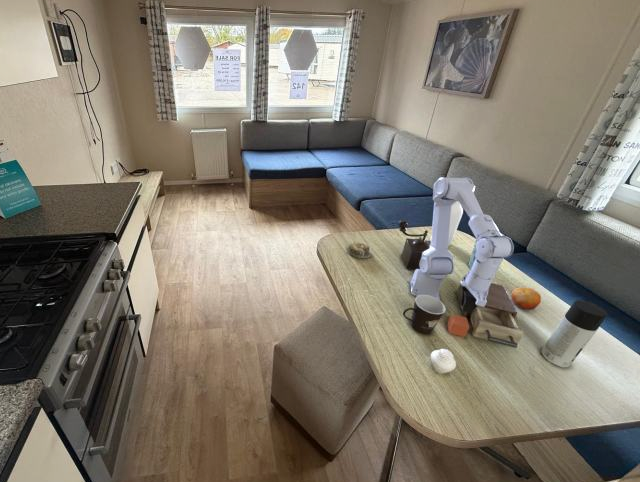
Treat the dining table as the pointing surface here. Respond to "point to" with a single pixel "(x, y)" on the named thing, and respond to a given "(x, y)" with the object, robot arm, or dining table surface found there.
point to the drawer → (495, 326)
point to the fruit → (526, 298)
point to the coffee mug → (425, 314)
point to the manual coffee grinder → (413, 247)
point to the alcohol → (454, 220)
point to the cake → (359, 250)
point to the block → (458, 325)
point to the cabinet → (493, 300)
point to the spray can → (573, 333)
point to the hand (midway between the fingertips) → (465, 308)
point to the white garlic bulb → (443, 361)
